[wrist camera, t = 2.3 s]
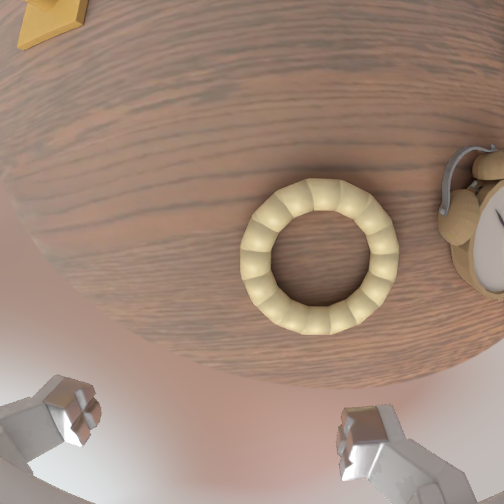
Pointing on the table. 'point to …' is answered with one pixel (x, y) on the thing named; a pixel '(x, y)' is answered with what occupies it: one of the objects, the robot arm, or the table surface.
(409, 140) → the table surface
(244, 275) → the segmented cream ring
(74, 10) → the square base peg post
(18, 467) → the robot arm
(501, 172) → the alarm clock
